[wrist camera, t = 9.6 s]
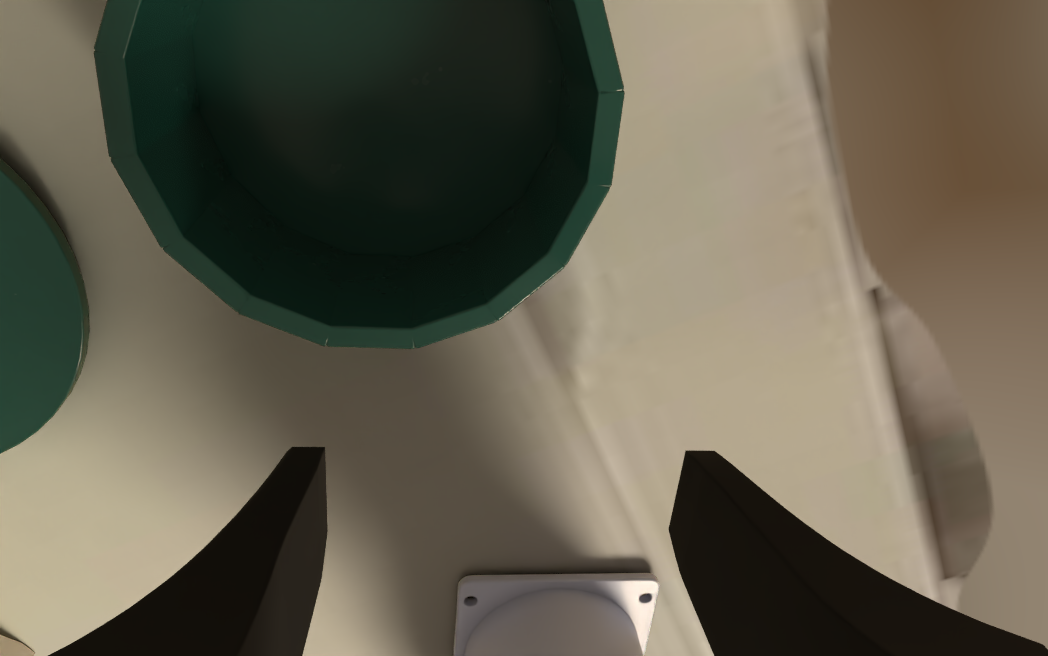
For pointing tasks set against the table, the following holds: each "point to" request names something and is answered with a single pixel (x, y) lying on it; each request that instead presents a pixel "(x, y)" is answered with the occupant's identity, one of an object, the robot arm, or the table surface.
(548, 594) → the robot arm
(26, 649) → the cat figurine
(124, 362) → the table surface
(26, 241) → the lid
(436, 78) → the pot
